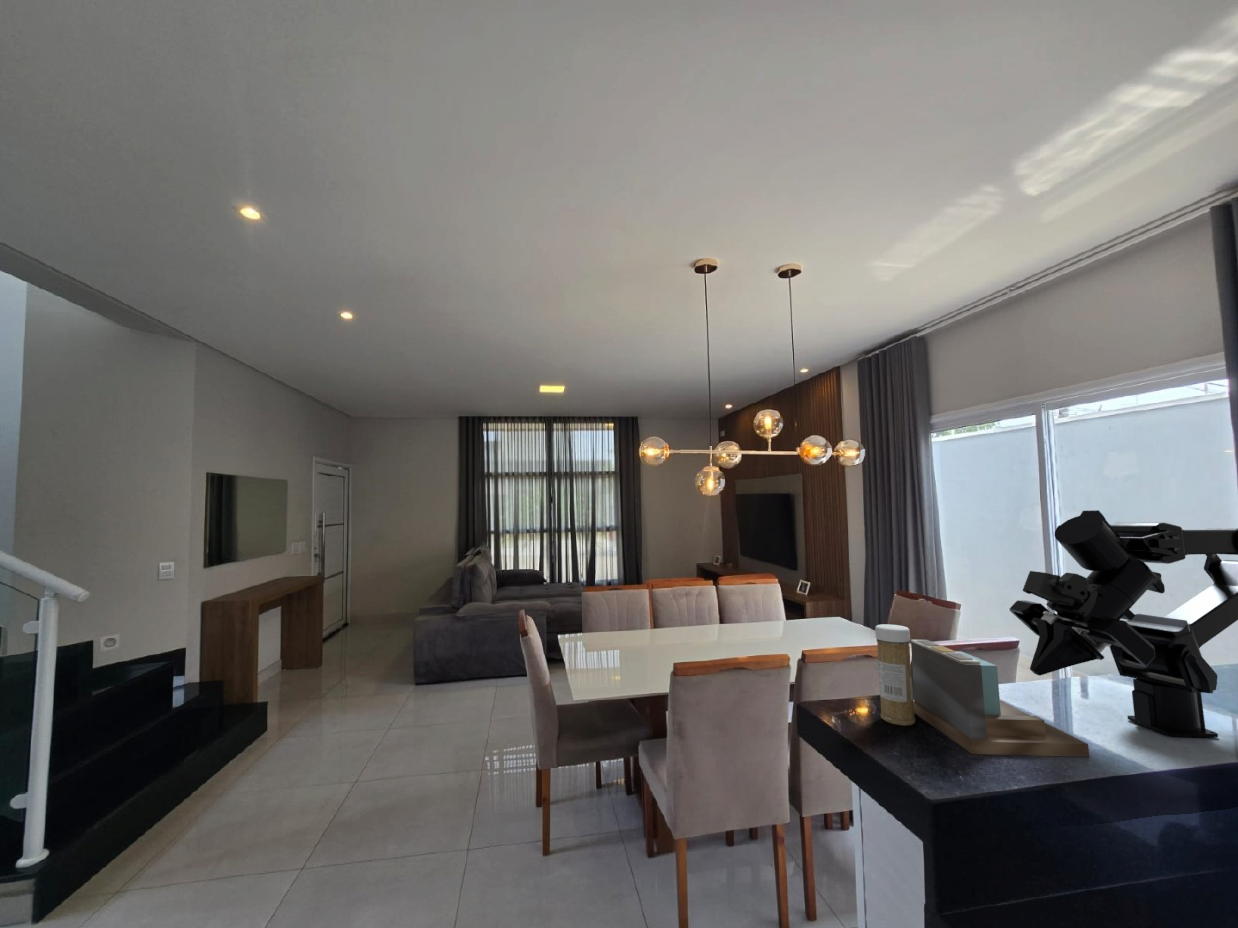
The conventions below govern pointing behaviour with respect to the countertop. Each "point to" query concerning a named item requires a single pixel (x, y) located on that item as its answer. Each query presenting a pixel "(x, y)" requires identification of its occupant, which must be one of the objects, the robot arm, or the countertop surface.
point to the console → (978, 709)
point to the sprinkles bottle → (895, 674)
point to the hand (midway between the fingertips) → (1034, 672)
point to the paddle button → (989, 686)
